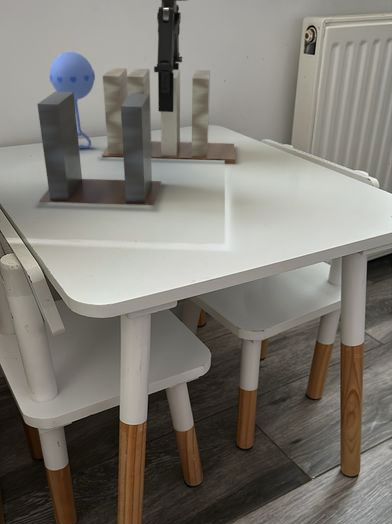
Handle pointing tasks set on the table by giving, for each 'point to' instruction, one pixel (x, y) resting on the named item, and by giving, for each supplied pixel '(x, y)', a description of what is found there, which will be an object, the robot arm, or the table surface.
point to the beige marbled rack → (139, 83)
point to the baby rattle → (73, 80)
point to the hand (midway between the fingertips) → (168, 104)
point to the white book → (171, 122)
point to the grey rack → (68, 157)
